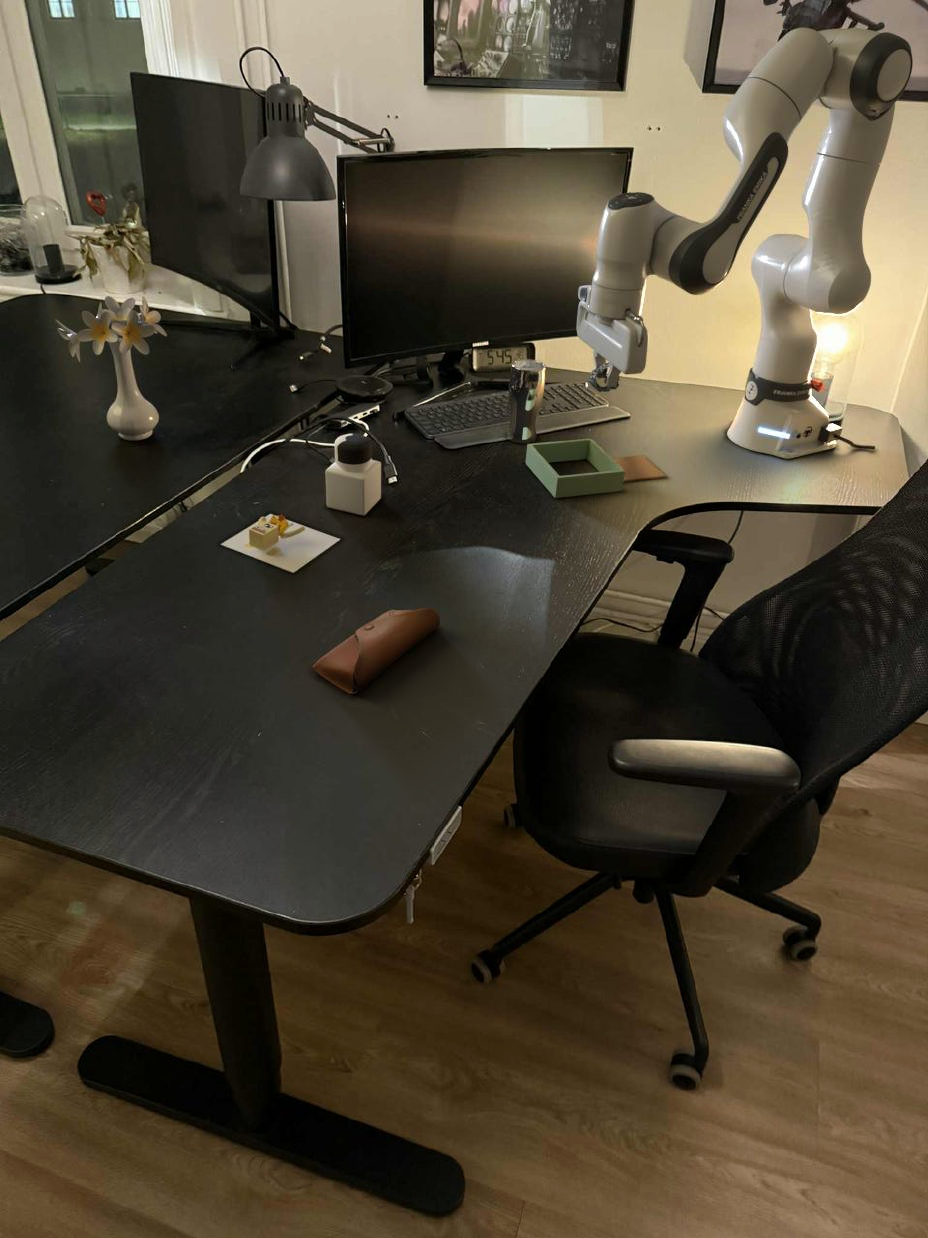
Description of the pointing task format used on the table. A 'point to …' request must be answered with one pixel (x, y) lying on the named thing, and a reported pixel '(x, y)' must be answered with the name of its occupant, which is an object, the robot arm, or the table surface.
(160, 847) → the table surface
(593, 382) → the wristwatch
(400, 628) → the sunglasses case
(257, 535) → the miniature model
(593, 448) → the tray
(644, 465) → the cork pad
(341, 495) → the medicine bottle
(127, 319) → the flower vase
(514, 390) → the shiny metal tumbler
